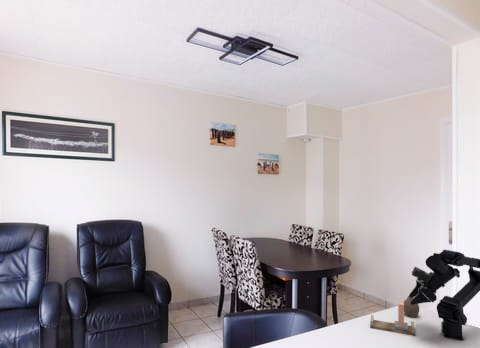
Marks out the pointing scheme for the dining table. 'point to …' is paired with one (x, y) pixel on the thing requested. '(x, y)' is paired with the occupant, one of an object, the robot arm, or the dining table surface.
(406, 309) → the vase
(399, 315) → the fader
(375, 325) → the fader track
